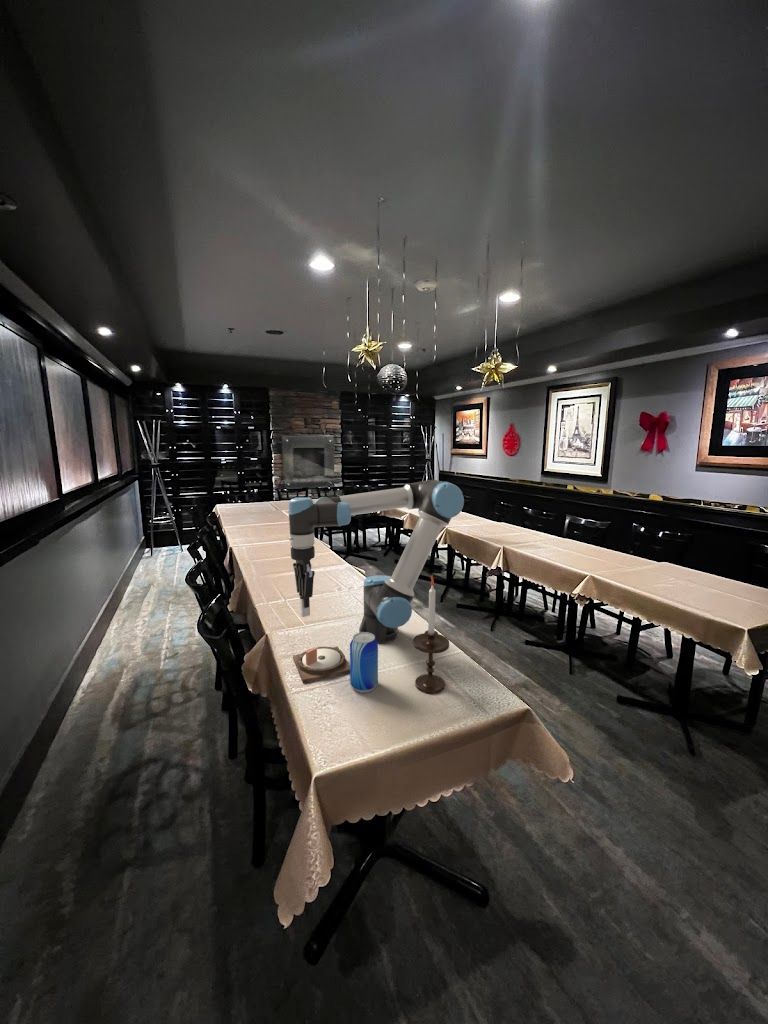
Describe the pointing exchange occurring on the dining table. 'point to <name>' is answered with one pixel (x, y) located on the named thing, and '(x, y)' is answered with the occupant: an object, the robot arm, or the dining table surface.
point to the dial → (321, 658)
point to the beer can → (364, 662)
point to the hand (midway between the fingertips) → (305, 615)
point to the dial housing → (319, 674)
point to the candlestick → (430, 650)
